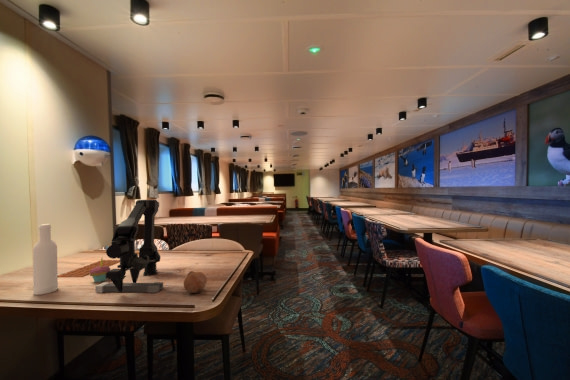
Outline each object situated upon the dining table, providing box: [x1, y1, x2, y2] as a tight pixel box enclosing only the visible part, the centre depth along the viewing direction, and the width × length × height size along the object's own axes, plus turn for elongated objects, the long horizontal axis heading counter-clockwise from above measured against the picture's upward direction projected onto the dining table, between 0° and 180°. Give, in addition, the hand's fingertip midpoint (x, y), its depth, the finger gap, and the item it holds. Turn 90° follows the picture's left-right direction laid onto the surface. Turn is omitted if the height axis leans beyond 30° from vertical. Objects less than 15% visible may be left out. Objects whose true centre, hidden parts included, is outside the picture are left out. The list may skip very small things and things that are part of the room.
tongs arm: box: [109, 281, 164, 291], centre depth 109 cm, size 24×2×3 cm, turn 88°
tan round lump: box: [183, 270, 208, 294], centre depth 105 cm, size 10×9×10 cm
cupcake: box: [89, 257, 111, 283], centre depth 121 cm, size 9×8×12 cm
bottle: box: [32, 223, 59, 296], centre depth 108 cm, size 8×8×30 cm
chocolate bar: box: [57, 259, 120, 279], centre depth 141 cm, size 14×30×1 cm, turn 177°
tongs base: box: [94, 281, 161, 294], centre depth 107 cm, size 28×5×3 cm, turn 88°
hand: (127, 287), depth 108 cm, fingers open, 9 cm apart
